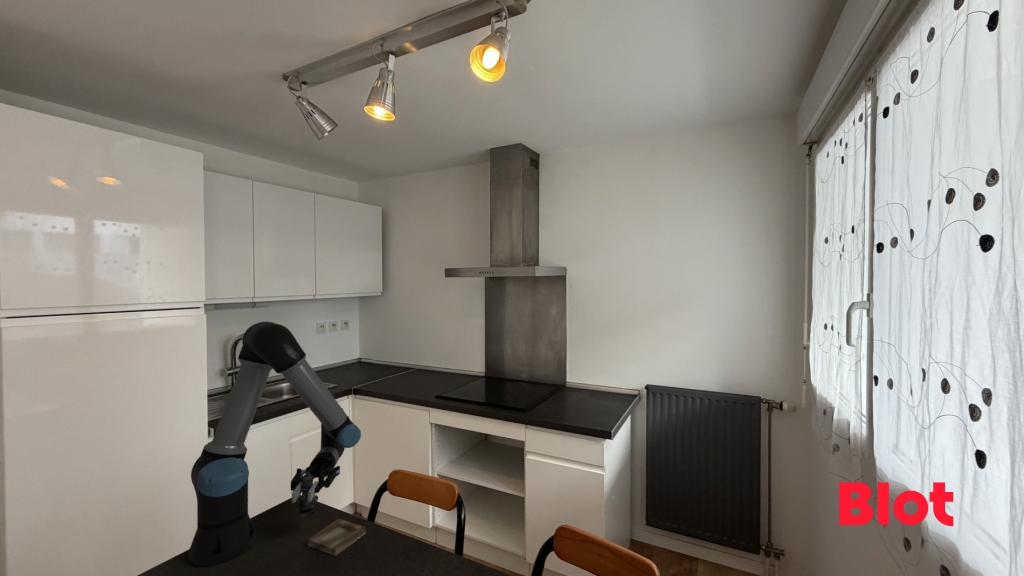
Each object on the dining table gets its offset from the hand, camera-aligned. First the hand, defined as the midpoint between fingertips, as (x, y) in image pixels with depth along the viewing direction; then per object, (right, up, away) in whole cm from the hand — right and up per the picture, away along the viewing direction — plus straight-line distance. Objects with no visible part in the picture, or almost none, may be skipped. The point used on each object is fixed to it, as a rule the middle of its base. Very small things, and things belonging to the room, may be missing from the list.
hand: (301, 497), depth 112 cm
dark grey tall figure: (-1, -7, +5) cm, 9 cm away
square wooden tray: (+9, -14, +3) cm, 17 cm away
